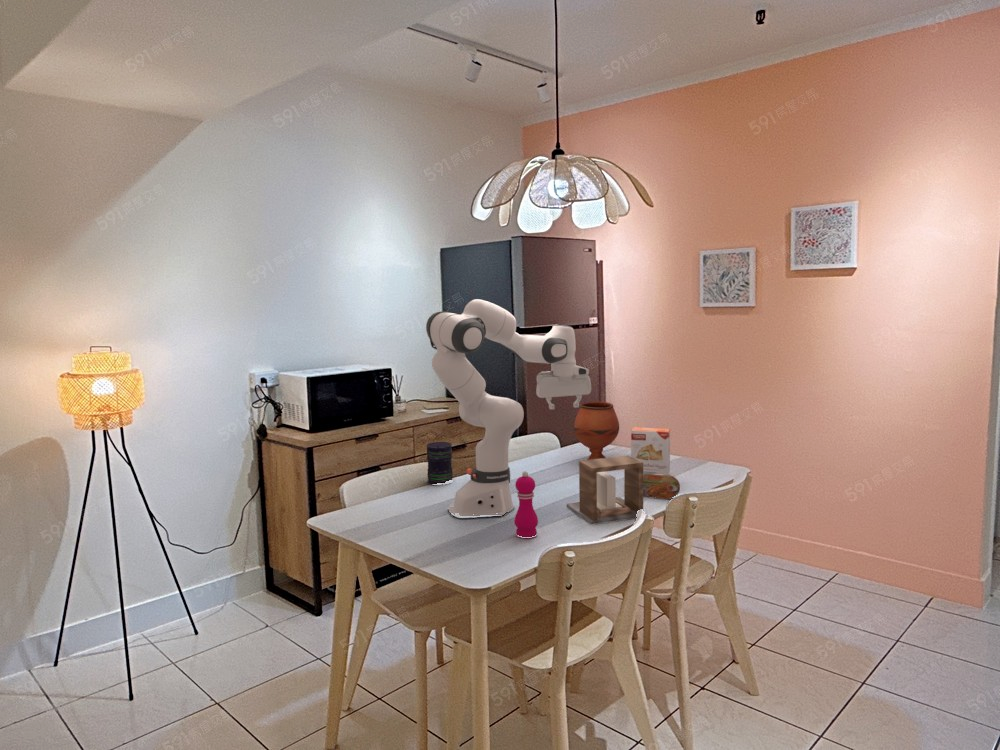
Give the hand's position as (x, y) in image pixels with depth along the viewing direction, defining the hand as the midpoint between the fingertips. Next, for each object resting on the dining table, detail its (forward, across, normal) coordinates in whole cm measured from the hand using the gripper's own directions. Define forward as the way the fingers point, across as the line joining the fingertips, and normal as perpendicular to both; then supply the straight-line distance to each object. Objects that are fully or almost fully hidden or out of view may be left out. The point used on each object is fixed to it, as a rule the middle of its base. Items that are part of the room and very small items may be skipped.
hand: (564, 408), depth 246 cm
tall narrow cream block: (+30, +4, -25) cm, 39 cm away
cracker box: (+31, +34, -2) cm, 46 cm away
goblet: (+31, +29, +34) cm, 55 cm away
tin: (+31, +28, -18) cm, 46 cm away
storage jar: (+31, -40, +30) cm, 59 cm away
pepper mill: (+31, -28, -36) cm, 55 cm away
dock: (+31, +4, -24) cm, 39 cm away
